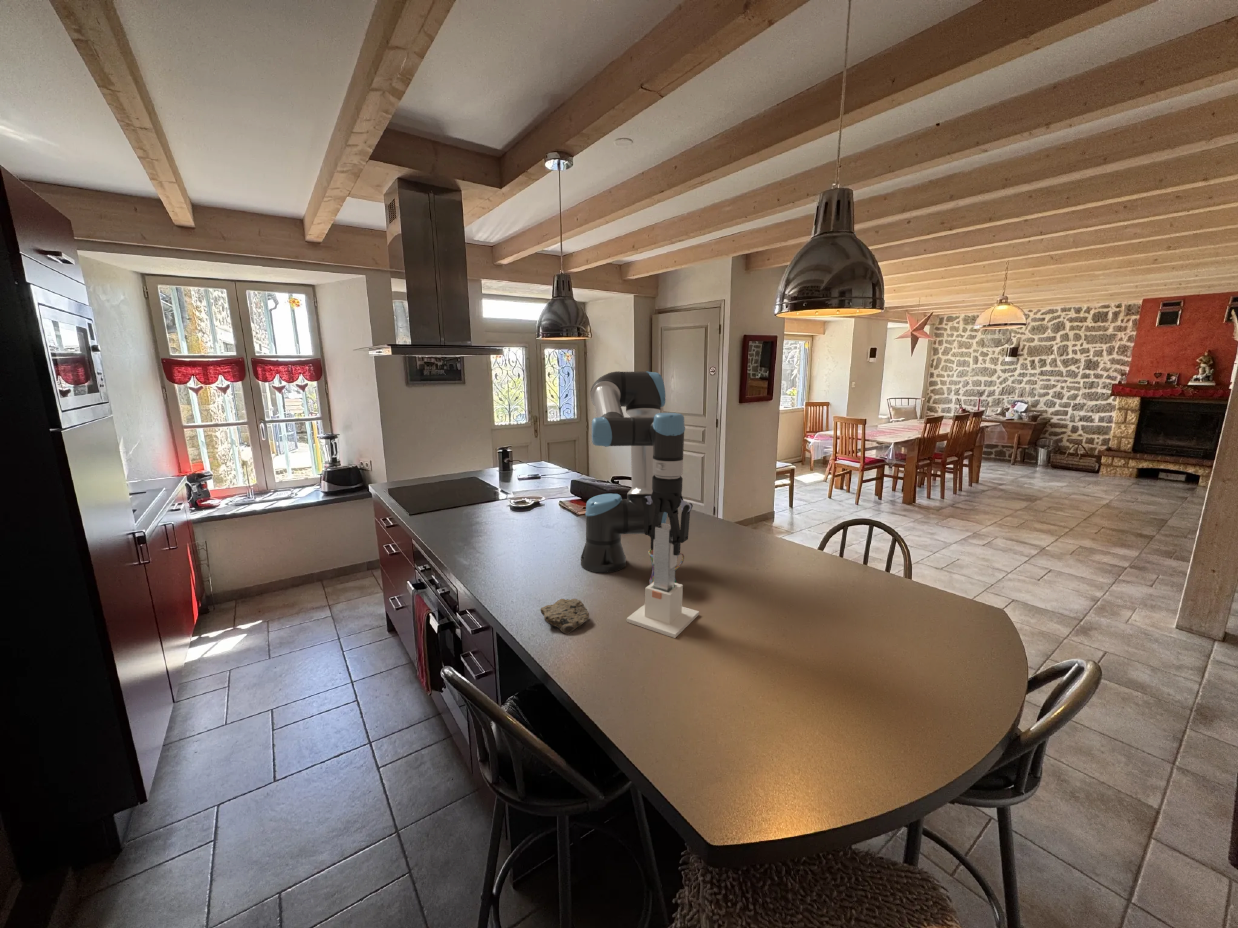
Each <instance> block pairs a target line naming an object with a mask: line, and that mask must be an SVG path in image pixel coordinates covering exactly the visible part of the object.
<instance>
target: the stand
mask: <svg viewBox="0 0 1238 928" xmlns="http://www.w3.org/2000/svg"><path fill="white" fill-rule="evenodd" d="M644 588H645V589H644V604H643V605H642V606H640V607H639V608H638V609H636V610H635V611H634V612H632V614H630V615H629V616H627V617H626V622H627V623H629V624H631V625H634V626H638V627H642V628H644V629H646V630H649V631H652V632H656V633H658V634H661V635H664V636H667V637H670V638H674V639H676V637H678V636H679V635H680V634H681V633H682V632H683V631H684V630H686V628H687V627H688V626H689V625H690V624H691V623H692V622H693V621H694V620H695V619H696V618H698V616H699V615H700V611H699V610H696V609H693V608H689V607H686V606H683V593H684V592H683V590H684V589H683V588H684V585H683V584H682V583H678V582H677V583H675V587H674V589H672V590H671V591H670V592H669V593H668V592H664V591H661V590H657V589H654V582H653V583H651V584H649V585H647V586H646V587H644Z"/></svg>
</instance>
